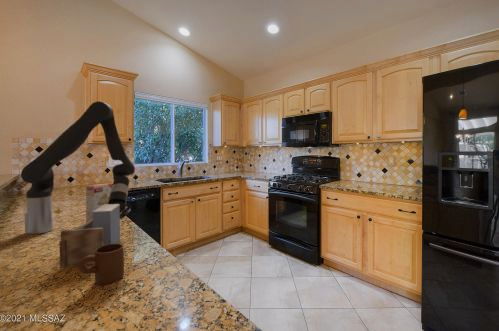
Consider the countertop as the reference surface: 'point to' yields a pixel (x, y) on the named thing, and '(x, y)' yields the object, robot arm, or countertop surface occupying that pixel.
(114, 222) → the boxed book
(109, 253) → the mug
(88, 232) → the shelf corner
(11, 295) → the countertop surface
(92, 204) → the cracker box
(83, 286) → the countertop surface
